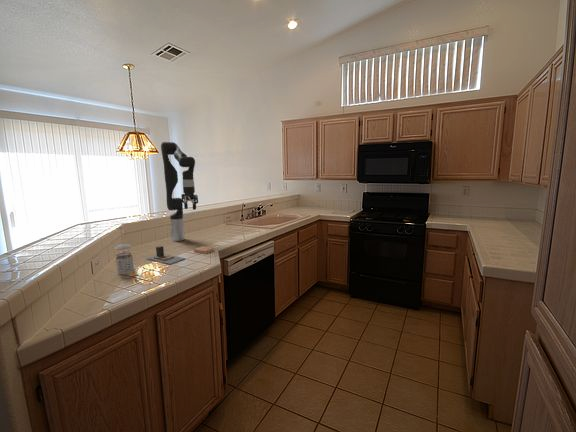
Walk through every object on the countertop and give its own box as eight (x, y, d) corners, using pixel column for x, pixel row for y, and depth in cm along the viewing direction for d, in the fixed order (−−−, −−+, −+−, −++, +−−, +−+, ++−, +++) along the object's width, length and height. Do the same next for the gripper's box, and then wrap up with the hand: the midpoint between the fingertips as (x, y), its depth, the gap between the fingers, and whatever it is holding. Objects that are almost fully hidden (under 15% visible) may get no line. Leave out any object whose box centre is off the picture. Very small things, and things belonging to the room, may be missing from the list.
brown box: (154, 258, 173) (152, 247, 172) (163, 255, 179) (162, 245, 178) (164, 260, 168) (163, 249, 167) (174, 257, 174) (173, 247, 173)
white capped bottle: (131, 266, 160) (126, 224, 156) (140, 271, 153) (135, 226, 149) (112, 271, 152) (106, 227, 148) (120, 276, 145) (115, 229, 141)
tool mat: (146, 259, 173) (146, 258, 173) (162, 254, 183) (162, 253, 183) (169, 264, 162) (169, 263, 162) (185, 259, 172) (185, 258, 172)
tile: (194, 249, 186) (205, 250, 182) (202, 246, 193) (213, 247, 189) (194, 252, 187) (205, 254, 182) (202, 249, 194) (214, 251, 189)
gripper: (200, 186, 193) (201, 209, 196) (186, 185, 200) (187, 207, 203) (191, 186, 187) (193, 210, 190) (177, 186, 194) (179, 209, 197)
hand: (190, 209), depth 196 cm, fingers open, 8 cm apart
